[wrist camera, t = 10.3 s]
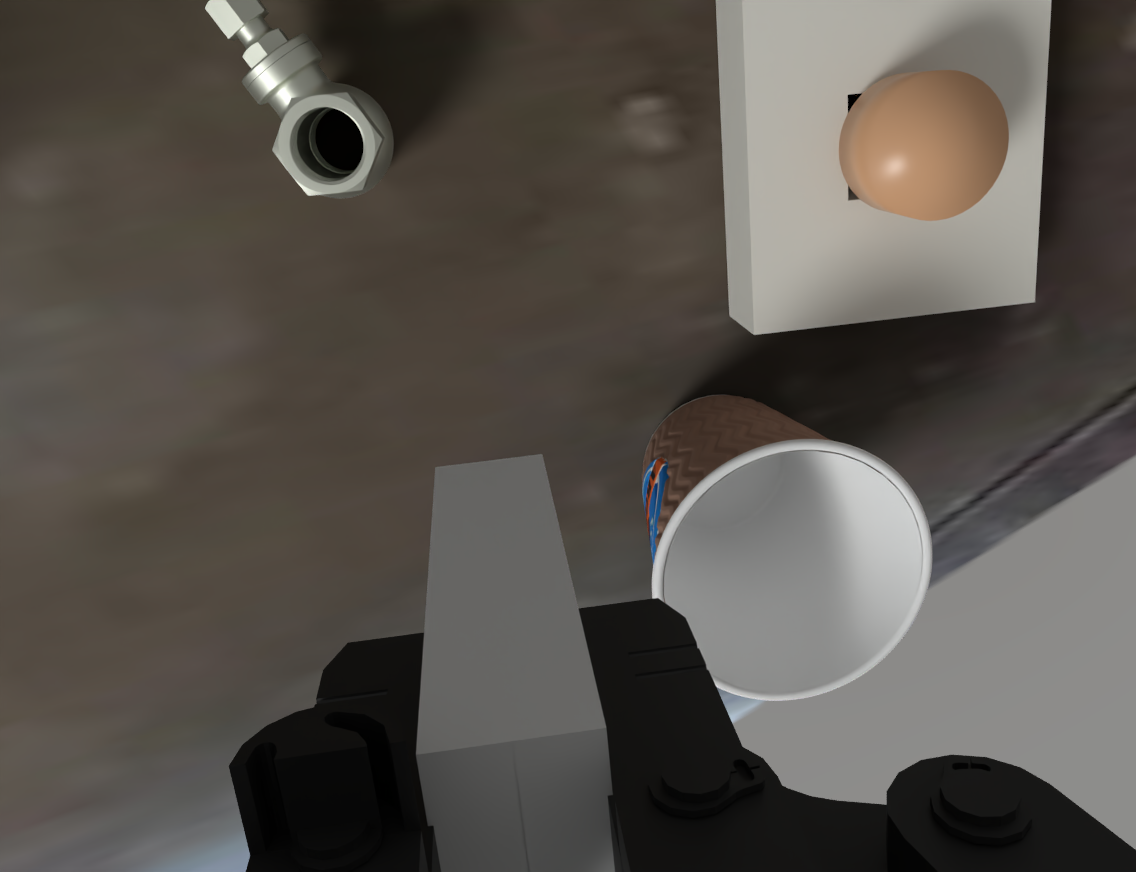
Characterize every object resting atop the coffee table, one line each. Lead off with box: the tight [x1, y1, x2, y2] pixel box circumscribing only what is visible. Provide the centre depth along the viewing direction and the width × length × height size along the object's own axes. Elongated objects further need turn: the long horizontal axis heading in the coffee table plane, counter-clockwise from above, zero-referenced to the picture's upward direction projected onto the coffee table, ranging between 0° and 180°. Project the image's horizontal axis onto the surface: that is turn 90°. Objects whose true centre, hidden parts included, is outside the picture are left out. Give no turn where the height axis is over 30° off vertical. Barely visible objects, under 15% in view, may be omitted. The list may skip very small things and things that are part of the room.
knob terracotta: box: [839, 70, 1009, 221], centre depth 39 cm, size 5×5×7 cm
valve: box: [205, 0, 394, 198], centre depth 37 cm, size 7×7×12 cm
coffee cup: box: [642, 395, 932, 701], centre depth 42 cm, size 10×10×12 cm
